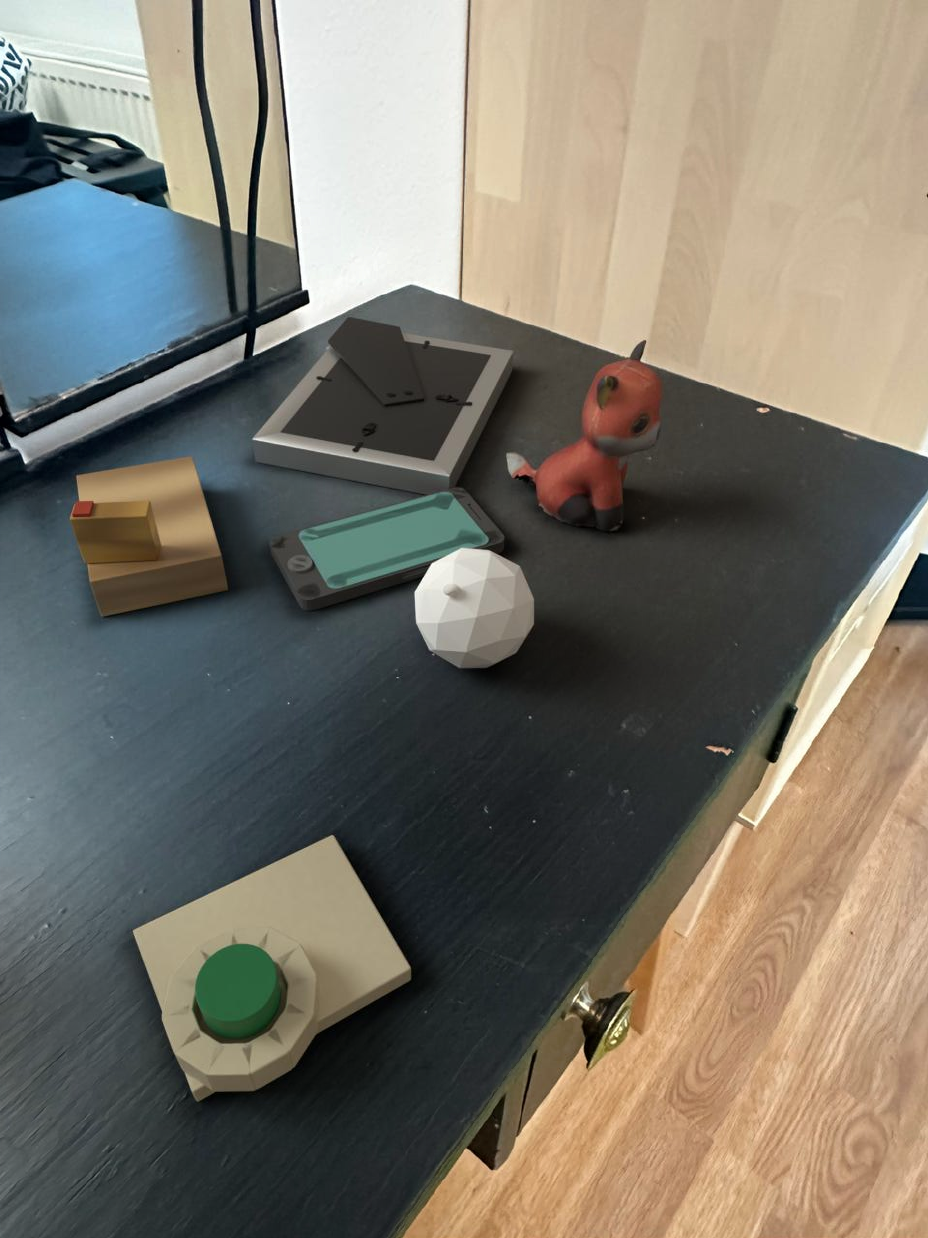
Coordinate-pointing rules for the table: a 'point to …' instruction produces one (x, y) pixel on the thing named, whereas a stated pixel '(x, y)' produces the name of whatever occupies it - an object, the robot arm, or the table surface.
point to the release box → (302, 953)
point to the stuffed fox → (599, 447)
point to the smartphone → (380, 546)
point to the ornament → (474, 608)
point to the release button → (238, 991)
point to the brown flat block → (182, 530)
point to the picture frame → (387, 409)
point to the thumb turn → (115, 531)
